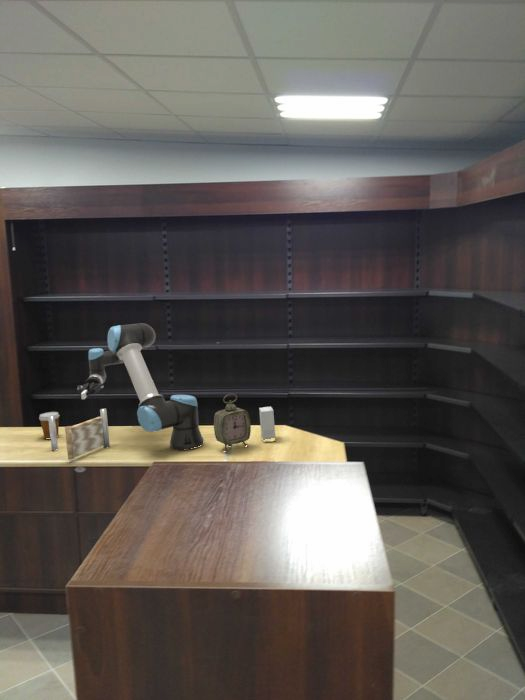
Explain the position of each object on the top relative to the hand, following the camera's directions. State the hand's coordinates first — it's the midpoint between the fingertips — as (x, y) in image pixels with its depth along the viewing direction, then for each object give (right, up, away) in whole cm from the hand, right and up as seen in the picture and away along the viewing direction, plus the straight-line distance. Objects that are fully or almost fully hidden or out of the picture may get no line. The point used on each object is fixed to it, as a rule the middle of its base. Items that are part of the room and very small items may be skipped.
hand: (82, 396), depth 253 cm
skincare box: (+86, -20, -2) cm, 88 cm away
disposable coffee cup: (-21, -22, +16) cm, 34 cm away
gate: (+6, -24, -12) cm, 27 cm away
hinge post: (+11, -23, -2) cm, 26 cm away
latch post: (-12, -24, -3) cm, 27 cm away
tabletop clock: (+70, -22, -12) cm, 75 cm away
